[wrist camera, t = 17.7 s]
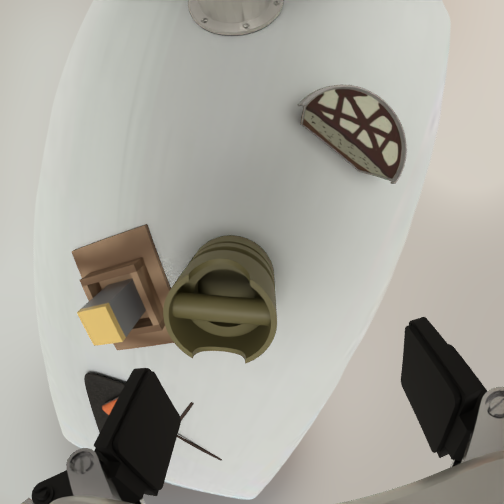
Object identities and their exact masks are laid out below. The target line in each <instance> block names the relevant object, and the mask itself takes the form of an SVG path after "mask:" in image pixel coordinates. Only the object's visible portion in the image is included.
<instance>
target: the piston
mask: <svg viewBox="0 0 504 504" xmlns="http://www.w3.org/2000/svg"><path fill="white" fill-rule="evenodd" d="M163 317H164V323H165V327H166V329H167V332H168V334H169V336H170V337H171V339H172V340H173V342H174V343H175V344H176V345H177V346H178V347H179V348H180V349H181V350H182V351H183V352H184V353H185V354H187V355H188V356H190V357H191V358H193V356H194V355H195V354H197V353H199V352H202V351H225V352H231V353H236V354H239V355H241V356H242V357H243V358H244V359H245V363H248V362H250V361H252V360H254V359H256V358H257V357H259V356H260V355H261V354H263V353H264V352H265V351H266V350H267V348H268V347H269V346H270V344H271V343H272V341H273V339H274V336H275V333H276V328H277V314H276V298H275V283H274V270H273V266H272V263H271V261H270V259H269V257H268V255H267V254H266V252H265V251H264V250H263V249H262V248H261V247H260V246H259V245H257V244H256V243H255V242H253V241H251V240H249V239H247V238H244V237H240V236H231V235H230V236H221V237H217V238H215V239H212V240H210V241H208V242H207V243H206V244H204V245H203V246H202V247H201V248H200V249H199V250H198V252H197V253H196V254H195V256H194V257H193V258H192V260H191V261H190V263H189V264H188V265H187V267H186V268H185V270H184V271H183V272H182V274H181V275H180V277H179V278H178V279H177V281H176V282H175V284H174V285H173V287H172V288H171V289H170V291H169V293H168V295H167V297H166V299H165V303H164V309H163Z"/></svg>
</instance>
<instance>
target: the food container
mask: <svg viewBox="0 0 504 504" xmlns="http://www.w3.org/2000/svg"><path fill="white" fill-rule="evenodd" d="M301 105H303V106H304V108H303V113H302V119H301V125H302V126H303V127H305V128H306V129H307V130H309V131H310V132H311V133H313V134H314V135H315V136H317V137H318V138H319V139H320V140H322V141H323V142H324V143H325V144H327V145H328V146H329V147H330V148H332V149H333V150H334V151H335V152H337V153H338V154H339V155H340V156H341V157H343V158H344V159H345V160H346V161H347V162H348V163H350V164H351V165H352V166H353V167H354V168H355V169H357V170H358V171H359V172H363V173H366V174H370V175H373V176H377V177H380V178H383V179H386V180H390V181H392V182H391V184H395V183H396V182H397V181H398V179H399V177H400V176H401V173H402V171H403V168H404V165H405V161H406V153H407V146H406V138H405V133H404V130H403V127H402V124H401V122H400V120H399V119H398V117H397V115H396V114H395V112H394V111H393V109H392V108H391V107H390V106H389V105H388V104H387V103H386V102H385V101H384V100H383V99H381V98H380V97H379V96H377V95H376V94H374V93H372V92H371V91H369V90H366V89H364V88H361V87H357V86H352V85H334V86H329V87H325V88H322V89H319V90H317V91H315V92H313V93H311V94H310V95H308V96H307V97H305V98H304V99H303V100H302V101H301V102H300V103H299V104H298V106H301Z"/></svg>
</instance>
